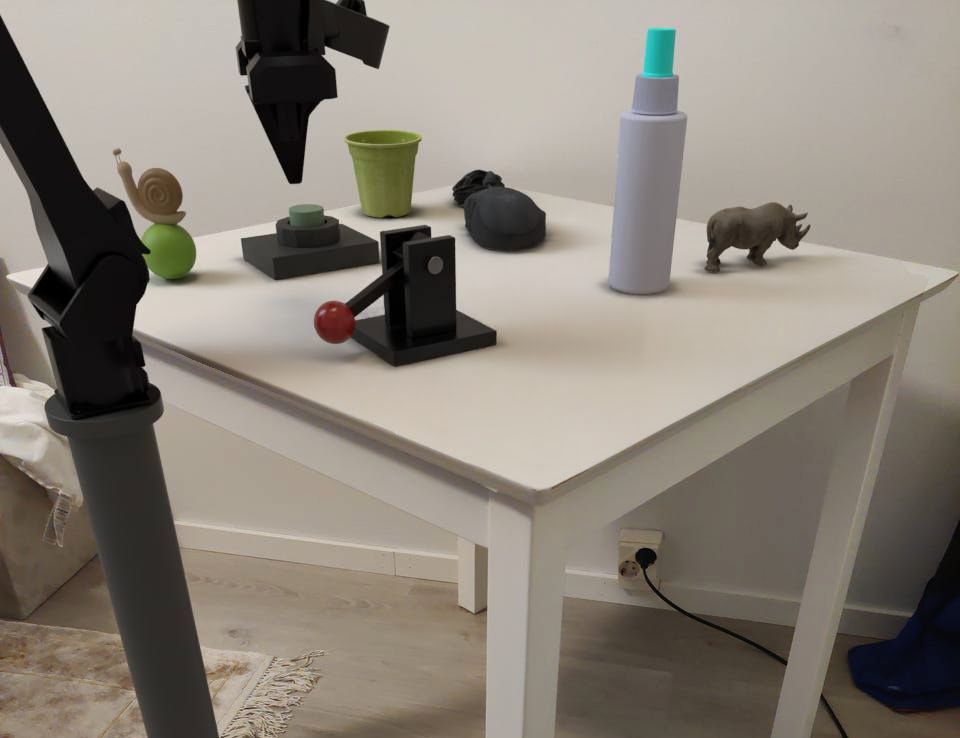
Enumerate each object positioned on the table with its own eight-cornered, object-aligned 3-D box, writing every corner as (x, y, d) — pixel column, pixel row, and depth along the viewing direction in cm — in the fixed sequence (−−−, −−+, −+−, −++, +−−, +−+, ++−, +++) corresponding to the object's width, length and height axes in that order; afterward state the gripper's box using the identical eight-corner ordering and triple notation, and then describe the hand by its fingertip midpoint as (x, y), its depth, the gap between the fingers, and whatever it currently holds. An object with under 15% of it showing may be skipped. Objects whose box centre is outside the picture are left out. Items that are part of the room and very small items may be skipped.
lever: (337, 357, 81) (316, 324, 78) (320, 345, 83) (299, 312, 81) (449, 269, 82) (432, 233, 80) (429, 259, 85) (412, 224, 82)
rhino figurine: (818, 260, 106) (830, 200, 103) (712, 275, 102) (720, 213, 98) (794, 251, 109) (804, 192, 106) (690, 265, 105) (697, 205, 101)
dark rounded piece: (474, 255, 108) (474, 202, 105) (442, 191, 134) (441, 146, 130) (559, 252, 109) (561, 199, 106) (510, 188, 135) (511, 144, 131)
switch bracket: (394, 366, 81) (388, 255, 76) (347, 335, 87) (338, 230, 82) (496, 344, 85) (497, 237, 80) (444, 315, 91) (442, 215, 86)
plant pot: (438, 210, 125) (436, 134, 120) (394, 225, 119) (390, 146, 113) (379, 201, 129) (375, 127, 124) (334, 215, 123) (327, 138, 117)
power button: (298, 231, 102) (297, 213, 101) (285, 224, 105) (283, 206, 104) (330, 226, 104) (328, 209, 103) (316, 219, 106) (314, 202, 105)
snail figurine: (149, 269, 104) (125, 143, 97) (208, 271, 103) (187, 145, 96) (128, 284, 99) (100, 154, 92) (188, 286, 99) (166, 155, 92)
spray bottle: (626, 274, 102) (646, 25, 89) (679, 284, 99) (708, 28, 86) (597, 288, 98) (614, 29, 85) (651, 299, 95) (677, 33, 82)
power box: (275, 280, 101) (270, 239, 98) (243, 259, 107) (237, 220, 104) (379, 262, 106) (377, 223, 103) (343, 243, 112) (340, 206, 110)
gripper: (399, -40, 68) (410, 201, 77) (358, -47, 83) (371, 156, 92) (235, -37, 66) (267, 211, 75) (223, -45, 80) (250, 163, 90)
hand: (295, 183), depth 83 cm, fingers closed
